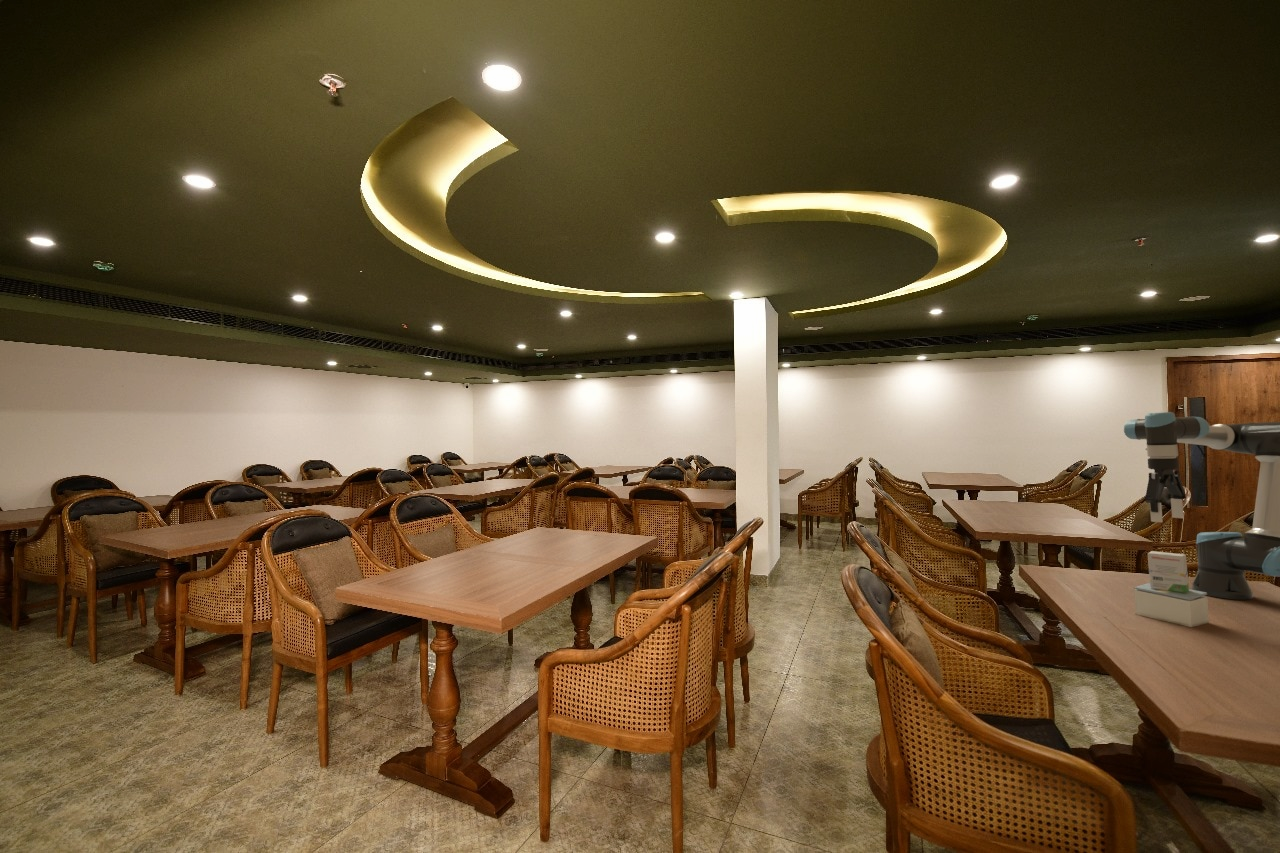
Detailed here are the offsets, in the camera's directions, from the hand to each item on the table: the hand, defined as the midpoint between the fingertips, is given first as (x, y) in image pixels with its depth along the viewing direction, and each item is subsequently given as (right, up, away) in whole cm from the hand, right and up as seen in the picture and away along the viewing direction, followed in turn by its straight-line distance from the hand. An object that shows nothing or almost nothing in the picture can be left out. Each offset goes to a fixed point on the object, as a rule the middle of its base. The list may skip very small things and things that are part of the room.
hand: (1167, 519), depth 179 cm
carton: (-7, -31, -8) cm, 32 cm away
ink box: (-7, -22, -7) cm, 24 cm away
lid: (-7, -22, -7) cm, 24 cm away
